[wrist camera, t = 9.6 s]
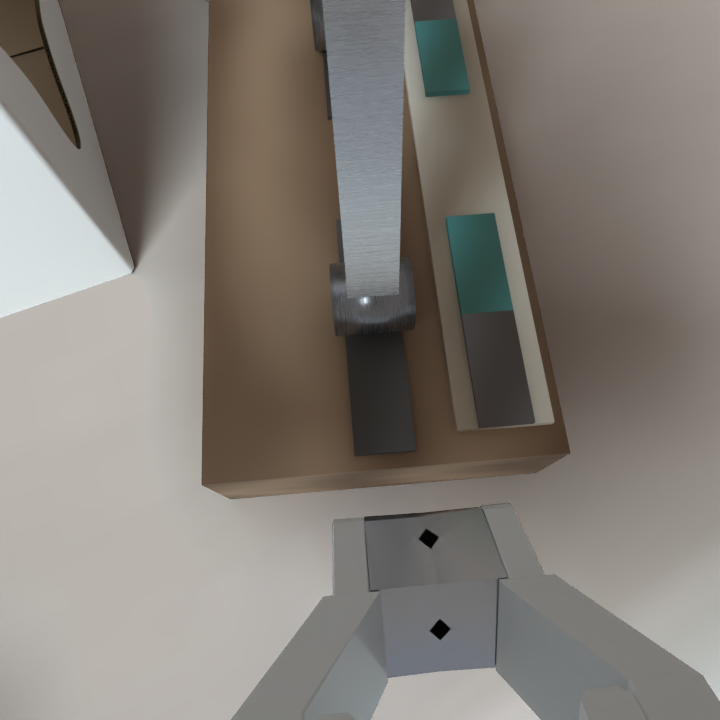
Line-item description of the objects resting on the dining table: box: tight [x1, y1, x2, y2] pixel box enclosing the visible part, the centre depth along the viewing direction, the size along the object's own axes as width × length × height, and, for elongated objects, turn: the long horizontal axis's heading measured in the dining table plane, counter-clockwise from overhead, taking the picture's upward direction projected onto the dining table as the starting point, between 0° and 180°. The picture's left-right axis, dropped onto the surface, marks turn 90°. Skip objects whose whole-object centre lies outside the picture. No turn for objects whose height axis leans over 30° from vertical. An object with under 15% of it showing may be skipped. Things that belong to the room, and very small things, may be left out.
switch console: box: [202, 0, 570, 499], centre depth 24 cm, size 12×24×4 cm, turn 5°
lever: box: [322, 0, 416, 336], centre depth 14 cm, size 3×3×14 cm
